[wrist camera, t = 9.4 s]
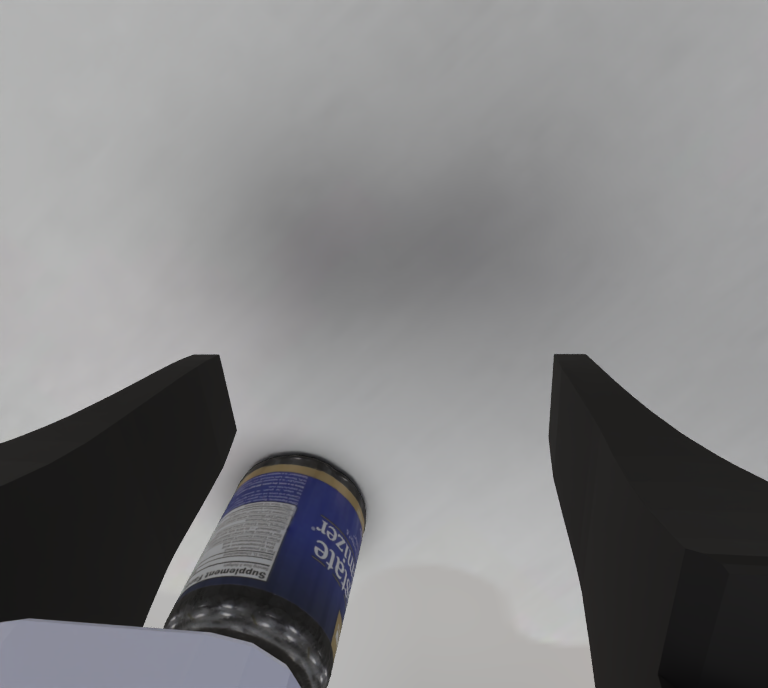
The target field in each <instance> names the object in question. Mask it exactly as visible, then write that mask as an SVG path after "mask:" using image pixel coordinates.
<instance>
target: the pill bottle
mask: <svg viewBox="0 0 768 688" xmlns="http://www.w3.org/2000/svg"><path fill="white" fill-rule="evenodd" d="M365 524H366V510H365V505H364V502H363V500H362V497H361V495H360V493H359V492H358V490H357V488H356V487H355V486H354V484H353V483H352V482H351V481H350V480H349V479H348V478H347V477H346V476H344V475H343V474H342V473H340V472H338V471H336V470H335V469H333V468H332V467H331V466H330V465H329V464H327V463H324V462H323V461H320V460H317V459H314V458H310V457H306V456H297V455H291V456H283V457H275V458H270V459H268V460H265V461H263V462H261V463H259V464H257V465H255V466H254V467H253V468H252V469H251V470H250V471H249V472H248V473H247V474H246V475H245V477H244V478H243V479H242V480H241V482H240V484H239V486H238V487H237V490H236V492H235V493H234V495H233V497H232V499H231V501H230V503H229V505H228V506H227V508H226V510H225V512H224V514H223V516H222V518H221V519H220V521H219V523H218V525H217V527H216V529H215V531H214V532H213V534H212V536H211V538H210V540H209V542H208V544H207V546H206V547H205V549H204V551H203V553H202V555H201V557H200V559H199V561H198V562H197V564H196V566H195V568H194V570H193V572H192V574H191V576H190V577H189V579H188V581H187V583H186V585H185V587H184V589H183V590H182V592H181V594H180V596H179V598H178V600H177V602H176V603H175V605H174V607H173V609H172V611H171V613H170V615H169V617H168V619H167V621H166V623H165V625H164V628H163V629H173V630H186V631H198V632H211V633H215V634H219V635H223V636H227V637H231V638H235V639H239V640H243V641H247V642H251V643H253V644H255V645H256V646H258V647H259V648H261V649H263V650H264V651H266V652H267V653H269V654H270V655H272V656H273V657H275V658H277V659H278V660H280V661H281V662H283V663H284V664H286V665H287V666H288V668H289V669H290V671H291V672H292V674H293V676H294V677H295V679H296V680H297V682H298V684H299V685H300V687H301V688H327V686H328V683H329V679H330V677H331V671H332V667H333V663H334V658H335V654H336V650H337V645H338V641H339V637H340V632H341V628H342V623H343V619H344V615H345V611H346V607H347V603H348V598H349V594H350V589H351V585H352V581H353V577H354V572H355V568H356V564H357V559H358V555H359V550H360V546H361V542H362V537H363V533H364V530H365Z"/></svg>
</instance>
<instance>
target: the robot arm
mask: <svg viewBox="0 0 768 688" xmlns="http://www.w3.org/2000/svg"><path fill="white" fill-rule="evenodd" d="M236 431H237V429H236V424H235V420H234V416H233V412H232V407H231V403H230V399H229V394H228V390H227V386H226V381H225V377H224V373H223V369H222V364H221V360H220V356H219V355H191V356H188V357H186V358H183V359H181V360H179V361H177V362H175V363H172V364H170V365H168V366H166V367H164V368H163V369H161V370H159V371H157V372H155V373H153V374H151V375H149V376H147V377H145V378H143V379H142V380H140V381H138V382H136V383H134V384H132V385H130V386H128V387H126V388H125V389H123V390H121V391H119V392H117V393H115V394H113V395H111V396H109V397H107V398H105V399H103V400H101V401H99V402H97V403H95V404H93V405H91V406H89V407H87V408H85V409H83V410H81V411H78V412H76V413H74V414H72V415H70V416H68V417H66V418H64V419H61V420H59V421H57V422H54V423H52V424H50V425H48V426H45V427H43V428H40V429H38V430H35V431H33V432H30V433H28V434H25V435H23V436H20V437H17V438H15V439H12V440H9V441H6V442H3V443H0V688H301V687H300V685H299V684H298V682H297V680H296V679H295V677H294V676H293V674H292V672H291V671H290V669H289V668H288V666H287V665H286V664H284V663H283V662H281V661H280V660H278V659H277V658H275V657H273V656H272V655H270V654H269V653H267V652H266V651H264V650H263V649H261V648H259V647H258V646H256V645H255V644H253V643H251V642H247V641H243V640H239V639H235V638H231V637H227V636H223V635H219V634H215V633H211V632H198V631H186V630H173V629H159V628H147V627H143V625H144V623H145V620H146V618H147V615H148V612H149V610H150V608H151V605H152V603H153V601H154V598H155V596H156V594H157V591H158V589H159V587H160V584H161V582H162V580H163V577H164V575H165V573H166V570H167V568H168V566H169V564H170V562H171V560H172V558H173V556H174V554H175V552H176V550H177V549H178V547H179V545H180V543H181V542H182V540H183V538H184V536H185V535H186V533H187V531H188V529H189V528H190V526H191V524H192V522H193V520H194V519H195V517H196V515H197V513H198V512H199V510H200V508H201V506H202V505H203V503H204V501H205V499H206V498H207V496H208V494H209V492H210V490H211V489H212V487H213V485H214V483H215V481H216V480H217V478H218V476H219V474H220V472H221V470H222V468H223V466H224V464H225V461H226V459H227V456H228V454H229V451H230V448H231V446H232V443H233V440H234V437H235V434H236ZM549 445H550V454H551V463H552V470H553V478H554V482H555V486H556V490H557V494H558V498H559V502H560V506H561V510H562V514H563V518H564V522H565V525H566V529H567V533H568V537H569V541H570V545H571V548H572V552H573V556H574V560H575V564H576V568H577V572H578V576H579V581H580V586H581V591H582V596H583V603H584V610H585V617H586V623H587V630H588V637H589V644H590V651H591V659H592V665H593V673H594V681H595V687H596V688H768V481H766V480H764V479H762V478H760V477H758V476H756V475H754V474H752V473H750V472H748V471H746V470H744V469H742V468H740V467H738V466H736V465H734V464H732V463H730V462H728V461H727V460H725V459H723V458H721V457H719V456H718V455H716V454H714V453H713V452H711V451H709V450H708V449H706V448H704V447H703V446H701V445H699V444H698V443H696V442H694V441H693V440H691V439H690V438H688V437H687V436H685V435H684V434H682V433H681V432H679V431H678V430H676V429H675V428H673V427H672V426H671V425H669V424H668V423H666V422H665V421H664V420H662V419H661V418H660V417H658V416H657V415H655V414H654V413H653V412H651V411H650V410H649V409H648V408H646V407H645V406H644V405H643V404H641V403H640V402H639V401H638V400H636V399H635V398H634V397H633V396H632V395H630V394H629V393H628V392H627V391H626V390H625V389H623V388H622V387H621V386H620V385H619V384H618V383H617V382H616V381H614V380H613V379H612V378H611V377H610V376H609V375H608V374H607V373H606V372H605V371H603V370H602V369H601V368H600V367H599V366H598V365H597V364H596V363H595V362H594V361H593V360H592V359H590V358H589V357H588V356H587V355H586V354H554V363H553V378H552V393H551V408H550V423H549Z"/></svg>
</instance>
